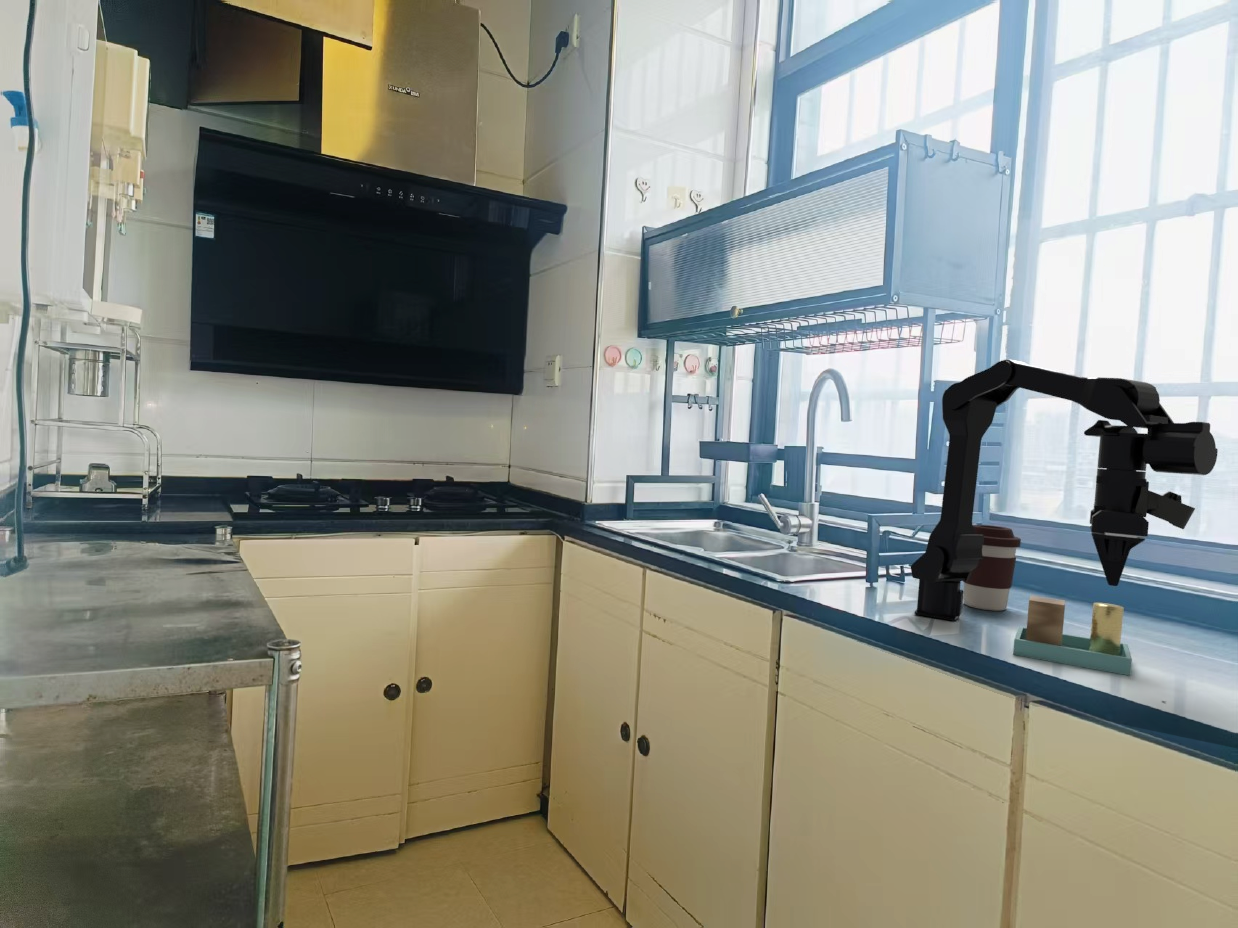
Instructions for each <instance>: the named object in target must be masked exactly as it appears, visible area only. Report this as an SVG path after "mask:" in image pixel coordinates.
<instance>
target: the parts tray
mask: <svg viewBox="0 0 1238 928" xmlns="http://www.w3.org/2000/svg"><path fill="white" fill-rule="evenodd" d="M1026 630H1027V627H1025V626H1018V628H1017V630H1016V631H1017V632H1016V634H1015V637H1014V640H1013V641H1014V642H1013V651H1012V655H1014V656H1020V657H1026V658H1031V659H1037V660H1043V661H1048V662H1052V663H1058V664H1063V665H1064V664H1065V665H1071V666H1075V667H1080V668H1081V667H1082V668H1087V669H1092V670H1097V671H1104V672H1109V673H1114V674H1119V675H1126V676H1131V673H1132V671H1131V670H1132V664H1133V663H1132V661H1133V659H1132V654H1131V651H1130V647H1129V645H1128V643H1122V642H1120V652H1119V656H1115V655H1110V654H1104V653H1098V652H1092V651H1089V646H1090V637H1085V636H1080V635H1072V634H1067V633H1063V634H1062V645H1061V646H1057V645H1051V644H1045V643H1039V642H1034V641H1028V640H1026Z"/></svg>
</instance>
